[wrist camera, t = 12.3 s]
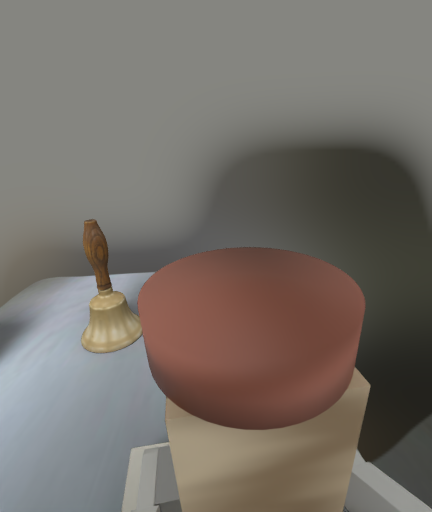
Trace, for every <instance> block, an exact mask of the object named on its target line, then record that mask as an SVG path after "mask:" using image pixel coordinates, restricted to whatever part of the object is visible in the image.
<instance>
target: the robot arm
mask: <svg viewBox="0 0 432 512" xmlns="http://www.w3.org/2000/svg"><path fill="white" fill-rule="evenodd" d="M344 506H345V508H346V509H347V510H348V511H349V512H432V509H431V508H430V507H429V506H427V505H426V504H425V503H423V502H422V501H421V500H419V499H418V498H417V497H415V496H414V495H413V494H411V493H410V492H409V491H407V490H406V489H405V488H403V487H402V486H401V485H399V484H398V483H397V482H396V481H394V480H393V479H392V478H390V477H389V476H388V475H386V474H385V473H384V472H382V471H381V470H380V469H378V468H377V467H376V466H374V465H373V464H372V463H370V462H365V461H364V459H363V458H362V456H361V454H360V453H359V451H358V450H356V454H355V459H354V463H353V468H352V472H351V477H350V481H349V486H348V490H347V495H346V499H345V504H344ZM131 512H182V508H181V503H180V498H179V492H178V487H177V482H176V476H175V471H174V466H173V460H172V455H171V449H170V445H168V446H162V447H155V448H150V449H145V450H144V452H143V456H142V464H141V473H140V481H139V489H138V498H137V506H136V509H135V510H131Z"/></svg>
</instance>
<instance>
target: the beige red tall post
mask: <svg viewBox="0 0 432 512" xmlns="http://www.w3.org/2000/svg"><path fill="white" fill-rule="evenodd" d="M137 304H138V312H139V317H140V322H141V327H142V332H143V337H144V342H145V347H146V352H147V357H148V362H149V367H150V370H151V373H152V376H153V378H154V380H155V382H156V383H157V385H158V387H159V388H160V389H161V390H162V392H163V393H164V394H165V395H166V411H165V423H166V428H167V433H168V439H169V444H170V449H171V455H172V460H173V466H174V471H175V476H176V482H177V487H178V492H179V498H180V503H181V508H182V512H343V508H344V504H345V499H346V495H347V490H348V486H349V481H350V477H351V472H352V468H353V463H354V459H355V454H356V450H357V445H358V440H359V436H360V431H361V427H362V422H363V418H364V413H365V409H366V404H367V400H368V395H369V390H370V386H371V385H370V384H369V383H368V382H367V381H366V380H365V378H364V377H363V376H362V375H361V373H360V372H359V371H358V370H357V369H356V368H355V361H356V355H357V350H358V345H359V339H360V334H361V328H362V323H363V317H364V312H365V298H364V296H363V293H362V291H361V289H360V288H359V286H358V285H357V283H356V282H355V281H354V280H353V279H352V278H351V277H350V276H348V275H347V274H346V273H345V272H343V271H342V270H340V269H339V268H337V267H335V266H333V265H331V264H329V263H327V262H325V261H322V260H320V259H318V258H315V257H311V256H308V255H305V254H301V253H297V252H292V251H287V250H280V249H272V248H256V247H243V248H226V249H218V250H213V251H207V252H202V253H198V254H195V255H191V256H188V257H185V258H183V259H180V260H177V261H175V262H173V263H171V264H169V265H167V266H165V267H163V268H162V269H160V270H159V271H157V272H156V273H155V274H153V275H152V276H151V277H150V278H149V279H148V280H147V281H146V282H145V284H144V285H143V287H142V288H141V291H140V293H139V296H138V302H137Z"/></svg>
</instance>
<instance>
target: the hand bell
mask: <svg viewBox="0 0 432 512" xmlns="http://www.w3.org/2000/svg"><path fill="white" fill-rule="evenodd" d="M83 246H84V250H85V253H86V256H87V259H88V260H89V262H90V264H91V265H92V267H93V269H94V272H95V276H96V282H97V288H98V292H99V294H98V295H97V296H95V297H94V298H92V299H91V301H90V303H89V307H90V322H89V325H88V327H87V328H86V329H85V331H84V332H83V335H82V338H81V343H82V346H83V347H84V348H85V349H86V350H88V351H90V352H94V353H107V352H113V351H117V350H120V349H122V348H125V347H127V346H129V345H130V344H132V343H133V342H135V341H136V340H137V339H138V338H139V337H140V336H141V335H142V333H143V332H142V327H141V322H140V317H139V316H138V315H136V314H134V313H132V311H131V310H130V308H129V306H128V304H127V301H126V298H125V296H124V294H122V293H121V292H118V291H113V289H112V287H111V286H112V284H111V282H110V277H109V273H108V268H107V263H108V247H107V242H106V239H105V236H104V234H103V232H102V231H101V229H100V227H99V226H98V224H97V221H96V220H94V219H91V220H86V221H85V222H84V234H83Z"/></svg>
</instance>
